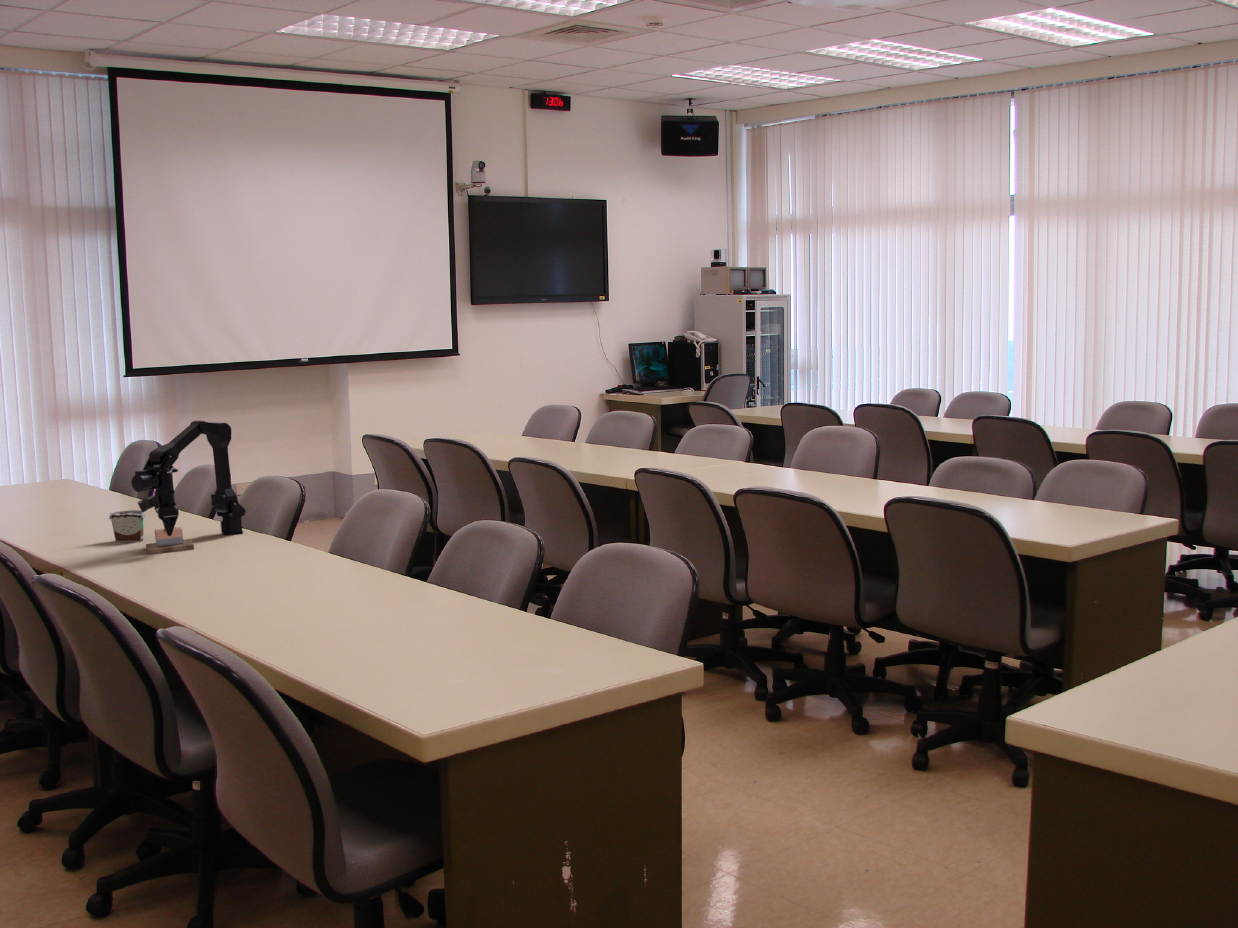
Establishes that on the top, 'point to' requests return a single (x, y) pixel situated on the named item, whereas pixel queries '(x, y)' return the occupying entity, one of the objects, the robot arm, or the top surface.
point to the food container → (128, 525)
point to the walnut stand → (169, 547)
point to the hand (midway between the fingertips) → (168, 533)
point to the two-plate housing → (168, 537)
